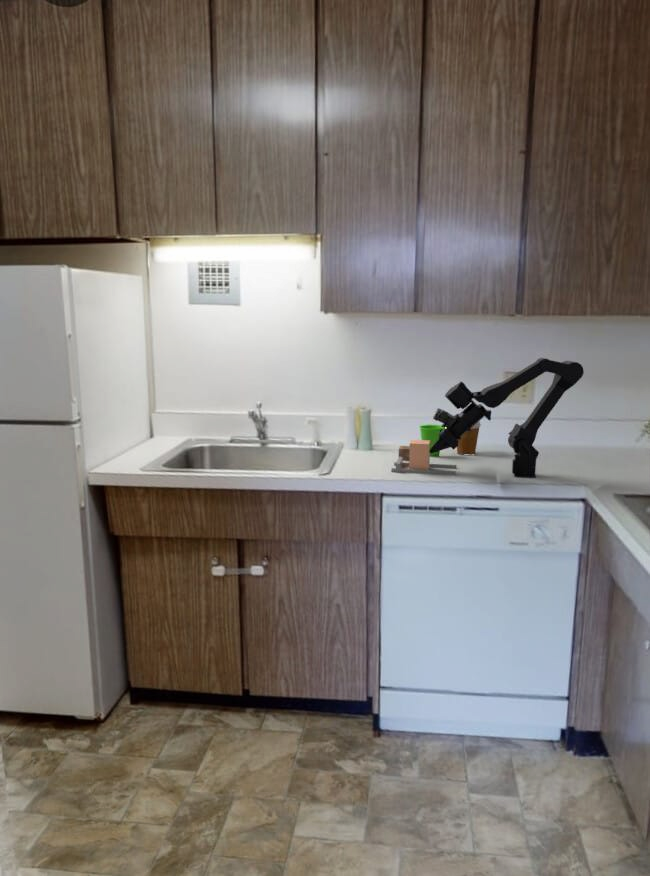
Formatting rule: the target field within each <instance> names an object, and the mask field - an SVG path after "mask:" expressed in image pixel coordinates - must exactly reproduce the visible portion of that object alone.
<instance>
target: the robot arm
mask: <svg viewBox="0 0 650 876" xmlns="http://www.w3.org/2000/svg"><path fill="white" fill-rule="evenodd" d="M544 373H551V374H554V375H553V376H554V377H553V379H552V383H551V385H550V387H549V388H548V389H547V390H546V392H545V393H544V395H542V397H541V399H540V401H539V402H538V403H537V405H536V406H535V408H534V409H533V410H532V412H531V413H530V415H529V416H528V417H527V419H526V420H525V421H524V422H523V423H522V424H518V423H515V425H514V426H513V428H512V430H511V431H509V432H508V435H509V436H508V438H507V442H508V445H509V447H510V448H512V449H513V452H514V453H515V454H514V458H513V459H512V463H511V472H512V474H513V477H515V478H520V477H521V478H537V475H536V474H537V473H536V472H537V470H536V468H537V467H536V466H537V459H538V456H539V455H540V454H539V453H540V452H539V451H538V450H537V449H536V448H535V447H534V446H533V445H534V442H535V440H536V437H537V433H538V431H539V429H540V427H541V426H542V424H543V423H544V422H545V420H546V419H547V417H548V416H549V415H550V413H551V412H552V411H553V409H554V407H555V406H556V405H557V403H558V402H559V401H560V399H561V398H562V397H563V395H564V394H565V393H566V391H568V390H569V389H570V388H572V387H573V386H575V385H576V384H577V383H578V382H579V381H580V380H581V379H582V378H583V376H584V374H585V371H584V367H583V366H582V364H581V363H579V362H577V361H573V360H564V361H562V362H561V361H556V360H550V359H549V358H546V357H540V358H538V359H536V361H534V362H533V363H531V364H529V365H528V366H526V367H525V368H523V369H521V370H519V371H518V372H516V373H514V374H513V375H511V376H510V377H508V378H506V379H505V380H504V381H501V382H497V383H493V384H492V385H489V386H487V387H485V388H483V389H482V390H480V391H473V392H472V391H471V390H470V389H469V388H468V387H467V386H466V384H465V383H464V382H463V381H459V382H458V383H457V384H454V386H452V387H451V388H450V389H448V391H447V392H446V393H445V395H444V397H445V398H446V399H447V400H448V401H449V402H450V403H451V404H452V405H453V406H454V408H456V409H457V410H459V409H462V411H461V412H460V413H455V415H453V414H451V413H449V412H448V411H446V410H445V409H441V408H436V411H435V414H434V415H433V420H434V421H436V422H440V423H442V424H441V425H442V427H444V430H443V431H442V430H441V429H440V432H439V438H438V439H437V441H436V442H435V443H434V445H433V446H432V448H431V449H430V450H429V452H430V453H431V454H432V453H435V452H438V451H440V452H441V451H443V450H446V449H450V448H451V449H452V450H455V449H457V446H458V441H459V440H460V439H461V437H462V436H463V435H464V434H465V433H466V432H467V431H470V430H471V428H472V427H473V426H474V425H475V424H476V423H478V422H479V421H480V422H481V420H482V419H483V418H486V419H487V420H488V421H491V420H492V418H491V417H492V413H493V412H492V410H491V409H495V408H498V407H499V406H500V405H501V404H503V403H504V402H505V401H506V400H507V399H508V398H509V396H510V395H511V394H512V393H513V392H515V391H517V390H519V388H521V387H523V386H525V385H526V384H527V383H529V382H531V381H533V380H535V379H536V378H539V376H541V375H543V374H544ZM474 400H475V401H476V402H478V403H479V404H477V403H476V402H475V401H474ZM482 404H483V405H484V406H485V407H487V408H491V409H486V408H485V407H484V406H483V405H482Z"/></svg>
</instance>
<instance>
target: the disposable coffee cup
mask: <svg viewBox="0 0 650 876" xmlns="http://www.w3.org/2000/svg"><path fill="white" fill-rule="evenodd" d="M481 426H482V424H481V420H480V421H479V422H478V423H476V424H475V425H474V426H473V427H472V428H471V430H470V431H467V432H466V433H465V434H464V435H463V436H462V437H461V439H460V440H459V441H458V446H457V447H456V453H457V454H458V453H459V454H458V455H460V454H474V455H475V454H476V449H477V444H478V438H479V431H480V428H481Z"/></svg>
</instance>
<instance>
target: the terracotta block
mask: <svg viewBox="0 0 650 876" xmlns="http://www.w3.org/2000/svg"><path fill="white" fill-rule="evenodd" d="M409 446H410V453H409V460H408V463H409V466H408V469H423V470H430V467H429V464H431V463H430V462H431V461H430V459H431V458H430V452H429V450H430V440H422V439H411V440H410V442H409Z"/></svg>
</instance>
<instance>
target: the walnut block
mask: <svg viewBox="0 0 650 876" xmlns="http://www.w3.org/2000/svg"><path fill="white" fill-rule="evenodd" d="M409 453H410V445H400V446H399V447H398V458H399V457H403V461H409Z"/></svg>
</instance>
